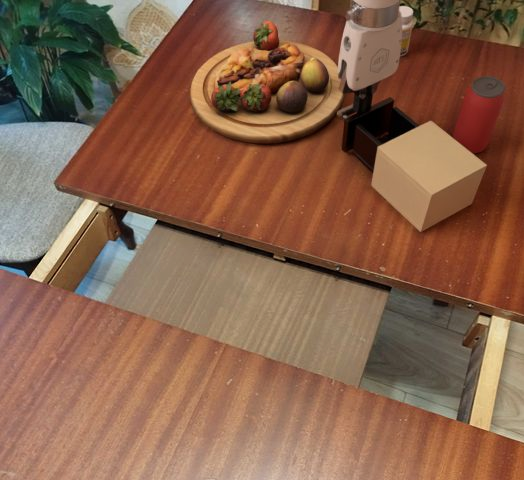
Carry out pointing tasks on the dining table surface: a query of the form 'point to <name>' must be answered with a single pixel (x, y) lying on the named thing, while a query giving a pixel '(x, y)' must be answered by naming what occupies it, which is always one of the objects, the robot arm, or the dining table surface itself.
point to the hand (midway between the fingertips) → (361, 111)
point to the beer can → (479, 113)
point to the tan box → (426, 175)
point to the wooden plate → (266, 89)
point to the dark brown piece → (372, 129)
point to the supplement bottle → (406, 28)
